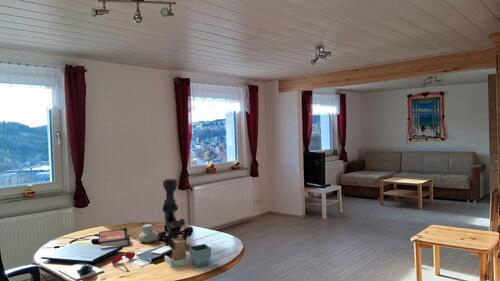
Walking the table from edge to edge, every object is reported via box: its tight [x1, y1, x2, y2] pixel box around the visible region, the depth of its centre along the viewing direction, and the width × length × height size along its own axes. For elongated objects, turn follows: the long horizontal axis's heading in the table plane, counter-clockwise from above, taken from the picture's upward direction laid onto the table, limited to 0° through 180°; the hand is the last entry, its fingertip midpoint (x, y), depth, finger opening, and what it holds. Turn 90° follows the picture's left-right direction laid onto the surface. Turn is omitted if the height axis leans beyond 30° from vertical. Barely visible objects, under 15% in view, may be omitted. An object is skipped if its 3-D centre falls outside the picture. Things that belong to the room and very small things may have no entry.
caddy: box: [171, 236, 187, 261], centre depth 198 cm, size 7×5×11 cm
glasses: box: [110, 250, 153, 273], centre depth 195 cm, size 14×16×5 cm
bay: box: [164, 251, 194, 268], centre depth 197 cm, size 12×12×2 cm
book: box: [98, 227, 131, 247], centre depth 238 cm, size 26×18×5 cm
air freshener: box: [138, 223, 158, 244], centre depth 235 cm, size 11×8×10 cm
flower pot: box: [188, 243, 212, 268], centre depth 191 cm, size 9×9×9 cm
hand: (179, 248), depth 196 cm, fingers open, 6 cm apart
